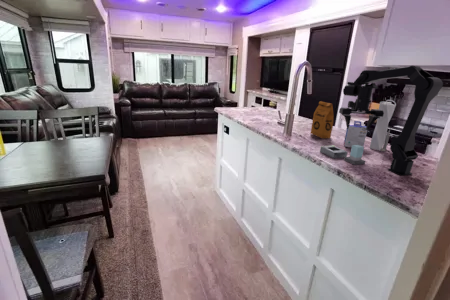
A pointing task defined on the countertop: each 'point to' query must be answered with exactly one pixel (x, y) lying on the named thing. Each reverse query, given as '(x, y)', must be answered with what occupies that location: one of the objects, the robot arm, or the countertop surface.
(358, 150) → the plug
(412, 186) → the countertop surface
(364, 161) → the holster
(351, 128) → the ink cartridge box
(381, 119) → the skyscraper
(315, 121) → the coffee package
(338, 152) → the socket
